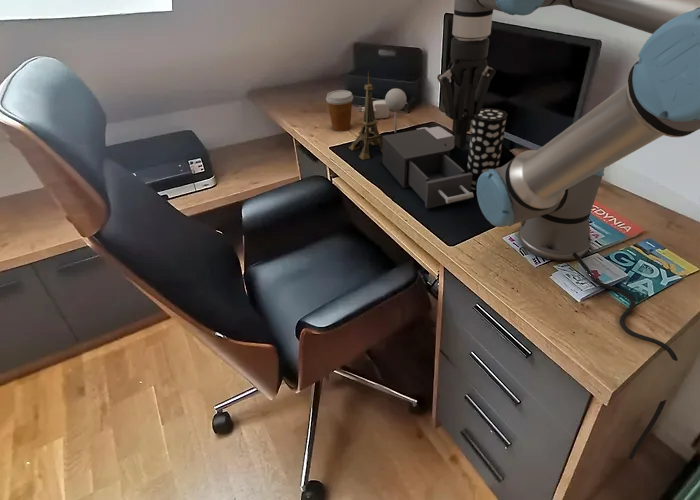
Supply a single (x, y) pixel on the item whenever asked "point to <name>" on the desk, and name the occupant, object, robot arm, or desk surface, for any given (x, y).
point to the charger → (441, 136)
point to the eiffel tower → (368, 122)
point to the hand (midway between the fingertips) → (459, 145)
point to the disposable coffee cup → (340, 108)
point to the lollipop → (395, 101)
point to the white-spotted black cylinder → (486, 142)
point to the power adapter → (379, 109)
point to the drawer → (439, 180)
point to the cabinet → (409, 151)
